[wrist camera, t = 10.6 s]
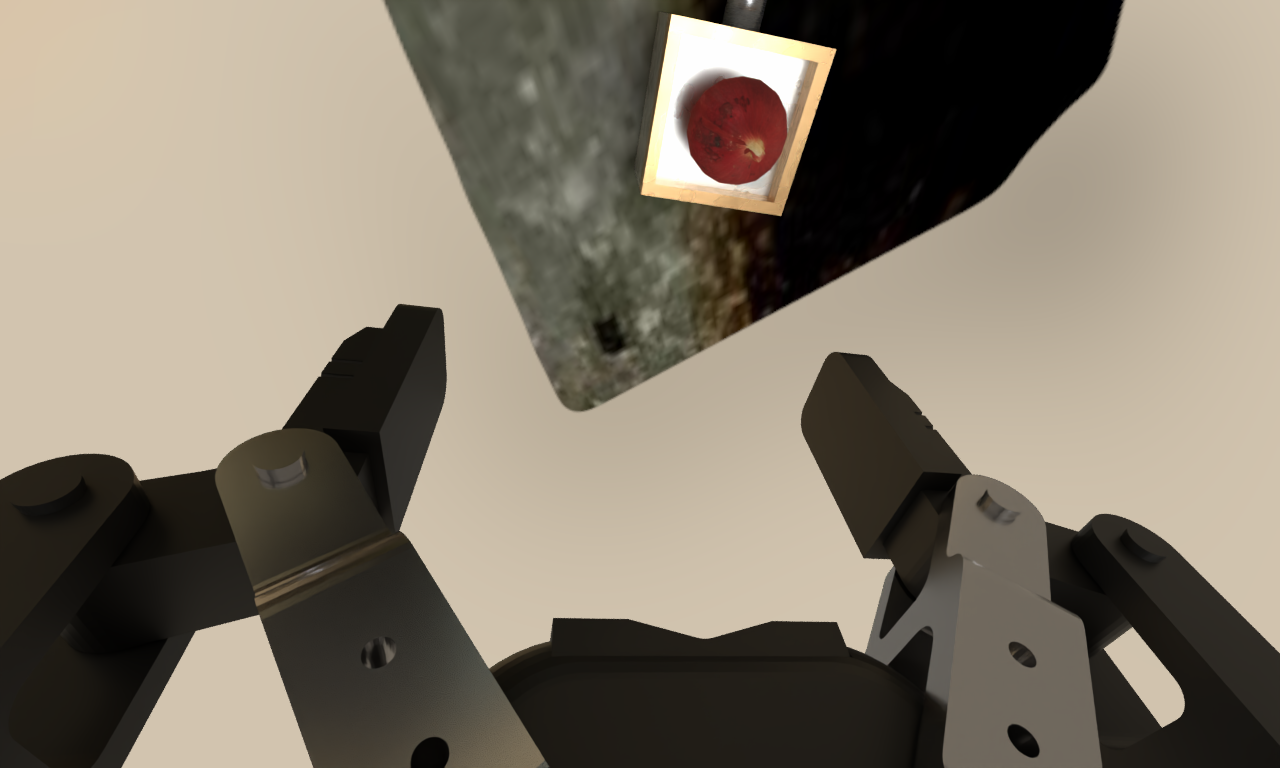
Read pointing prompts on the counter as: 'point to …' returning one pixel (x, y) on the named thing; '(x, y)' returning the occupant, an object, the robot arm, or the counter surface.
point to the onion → (737, 130)
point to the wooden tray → (700, 60)
